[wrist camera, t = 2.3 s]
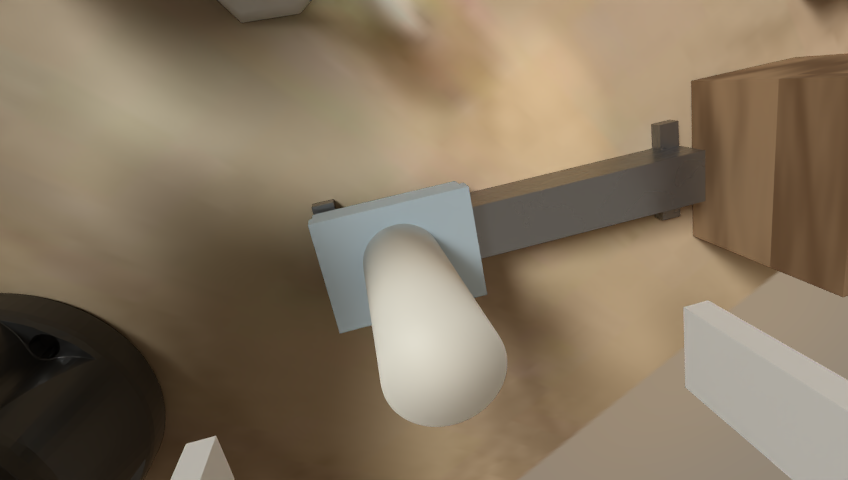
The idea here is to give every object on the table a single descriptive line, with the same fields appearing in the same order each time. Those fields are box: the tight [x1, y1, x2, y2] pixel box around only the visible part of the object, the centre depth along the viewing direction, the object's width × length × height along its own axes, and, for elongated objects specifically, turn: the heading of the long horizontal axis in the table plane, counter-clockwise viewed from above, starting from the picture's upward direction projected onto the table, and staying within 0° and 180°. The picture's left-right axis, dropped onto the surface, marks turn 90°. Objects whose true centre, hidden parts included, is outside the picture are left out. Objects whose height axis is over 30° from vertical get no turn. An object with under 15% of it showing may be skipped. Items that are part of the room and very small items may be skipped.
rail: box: [312, 120, 705, 259], centre depth 28 cm, size 22×6×3 cm, turn 102°
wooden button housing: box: [691, 54, 848, 297], centre depth 26 cm, size 7×10×10 cm
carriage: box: [308, 181, 507, 427], centre depth 21 cm, size 8×6×13 cm
